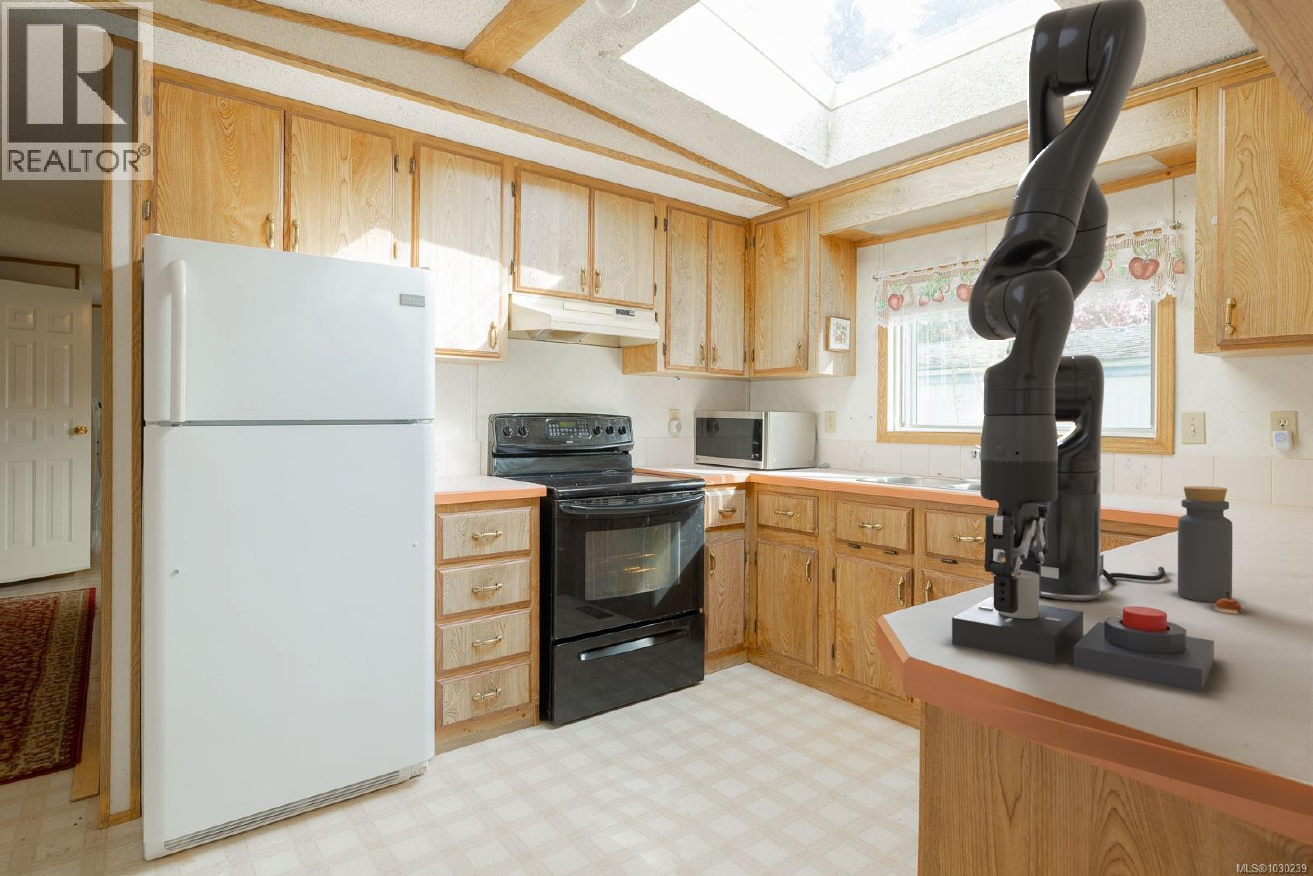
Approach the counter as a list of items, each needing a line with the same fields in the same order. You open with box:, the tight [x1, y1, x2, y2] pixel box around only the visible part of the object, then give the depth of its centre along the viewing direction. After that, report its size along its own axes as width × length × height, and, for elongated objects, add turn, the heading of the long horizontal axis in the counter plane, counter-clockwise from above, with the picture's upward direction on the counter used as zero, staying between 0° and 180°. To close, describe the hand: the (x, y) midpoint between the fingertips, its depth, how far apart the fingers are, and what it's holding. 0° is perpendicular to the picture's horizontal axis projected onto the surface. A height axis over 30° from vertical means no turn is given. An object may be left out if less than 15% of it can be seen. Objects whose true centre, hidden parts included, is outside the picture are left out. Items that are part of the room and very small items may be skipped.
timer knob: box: [998, 570, 1040, 619], centre depth 77 cm, size 4×4×5 cm
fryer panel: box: [951, 596, 1084, 666], centre depth 78 cm, size 12×10×3 cm
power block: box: [1072, 615, 1215, 693], centre depth 70 cm, size 11×10×4 cm
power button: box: [1122, 605, 1168, 631], centre depth 70 cm, size 4×4×2 cm
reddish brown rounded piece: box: [1214, 589, 1243, 614], centre depth 89 cm, size 3×3×3 cm
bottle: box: [1177, 485, 1233, 603], centre depth 96 cm, size 6×6×15 cm
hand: (1018, 603), depth 78 cm, fingers open, 8 cm apart
